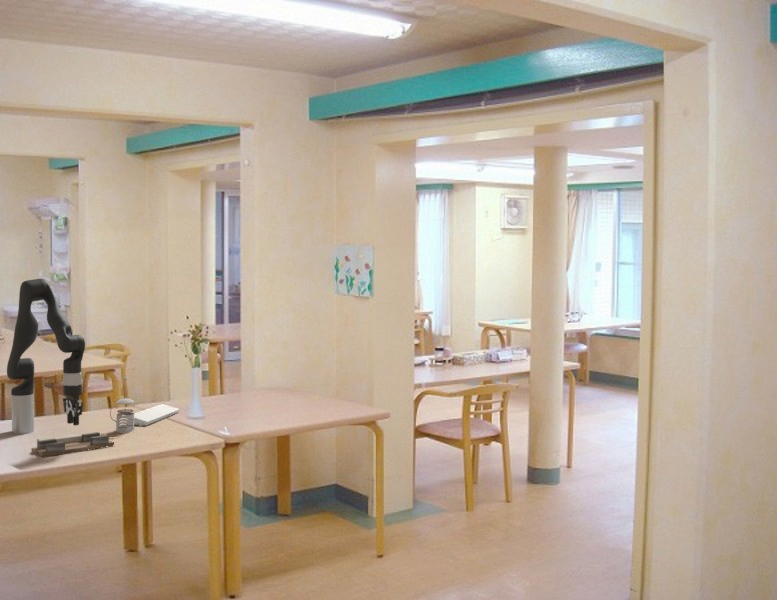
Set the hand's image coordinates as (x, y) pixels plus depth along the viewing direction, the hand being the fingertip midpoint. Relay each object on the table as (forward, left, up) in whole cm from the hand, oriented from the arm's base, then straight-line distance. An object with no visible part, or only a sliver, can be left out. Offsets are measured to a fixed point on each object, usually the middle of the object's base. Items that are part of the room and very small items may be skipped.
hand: (73, 424), depth 369 cm
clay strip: (-7, -1, -9) cm, 11 cm away
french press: (-18, +32, -11) cm, 38 cm away
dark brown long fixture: (0, 0, -10) cm, 10 cm away
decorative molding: (-29, +59, -10) cm, 67 cm away
